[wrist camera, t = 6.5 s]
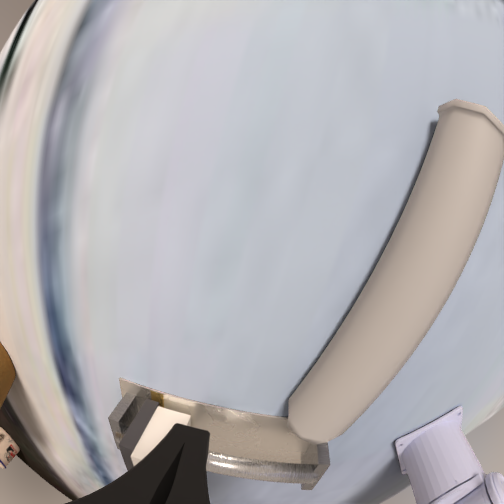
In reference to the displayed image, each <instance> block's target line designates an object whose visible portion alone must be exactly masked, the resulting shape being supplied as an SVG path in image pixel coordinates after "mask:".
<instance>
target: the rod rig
mask: <svg viewBox="0 0 504 504" xmlns="http://www.w3.org/2000/svg"><path fill="white" fill-rule="evenodd" d="M119 381H120V387H121V393H122V399H121V401H120V402H119V403H118V405H117V406H116V408H115V409H114V410H113V412H112V413H111V415H110V416H109V417H108V419H109V422H110V426H111V429H112V432H113V436H114V439H115V442H116V445H117V448H118V449H120V448H119V445H118V444H119V443H120V441H121V439H122V438H123V436H124V435H125V433H126V431H127V430H128V428H129V426H130V425H131V423H132V421H133V420H134V418H135V417H136V415H137V413H138V412H139V410H140V408H141V407H142V405H143V404H144V402H145V400H146V399H150V400H153V401H156V402H159V406H160V407H163V408H166V409H170V410H173V411H176V412H180V413H184V414H187V415H191V427H194V428H198V429H203V430H207V431H208V432H210V439H209V451H208V458H207V463H206V471H209V472H213V473H218V474H223V475H229V476H234V477H240V478H247V479H254V480H262V481H271V482H283V483H300V484H301V490H312V489H313V488H314V486H315V485H316V484H317V482H318V481H319V480H320V478H321V477H322V476H323V474H324V473H325V471H326V470H327V469H328V467H329V466H330V458H329V449H328V442H325V443H321V444H317V445H313V444H311V443H308V442H306V441H304V440H302V439H300V438H299V437H297V436H296V435H295V434H294V433H293V432H292V431H291V430H289V429H288V428H287V423H288V417H279V416H271V415H264V414H257V413H251V412H245V411H240V410H234V409H229V408H224V407H219V406H215V405H210V404H206V403H202V402H198V401H194V400H190V399H186V398H182V397H178V396H175V395H171V394H168V393H165V392H161V391H158V390H155V389H152V388H149V387H145V386H142V385H140V384H137V383H134V382H131V381H128V380H125V379H123V378H119Z"/></svg>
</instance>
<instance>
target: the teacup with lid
mask: <svg viewBox="0 0 504 504" xmlns="http://www.w3.org/2000/svg"><path fill="white" fill-rule="evenodd" d="M19 451H20V449H19V447H18V445H17V444H16V442H15V441H14V440H13V439H12V438H11V437H10V435H9V434H8V433H7V432H6V431H5V430H4V429H3V428H1V427H0V467H1V468H3V469H5V468H6V466H7V465H8V463H9V462H10V461H11V460H12V459H13V458H14V457H15V455H16V454H17V453H18V452H19Z"/></svg>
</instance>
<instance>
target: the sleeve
mask: <svg viewBox="0 0 504 504" xmlns="http://www.w3.org/2000/svg"><path fill="white" fill-rule="evenodd" d="M176 423H179V424H183V425H187V426H190V427H191V415H187V414H184V413H180V412H176V411H173V410H170V409H166V408H163V407H160V406H158V407H157V409H156V411H155V412H154V414H153V416H152V418H151V420H150V421H149V423H148V425H147V427H146V429H145V431H144V432H143V434H142V436H141V438H140V440H139V442H138V443H137V445H136V447H135V449H134V451H133V453H132V454H131V459H132V462H133V465H134V466H135V465H136V464H137V463H139V462H140V461H141V460H142V459H143V458H144V457H145V456H147V455H148V454H149V453H150V452H151V451H152V450H153V449H154V448H155V447H156V446H157V445H158V444H159V442H160V441H161V440H162V439H163V438H164V437H165V436H166V435H167V433H168V432H169V431H170V430H171V428H172V427H173V426H174V424H176Z"/></svg>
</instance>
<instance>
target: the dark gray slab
mask: <svg viewBox="0 0 504 504" xmlns="http://www.w3.org/2000/svg"><path fill="white" fill-rule="evenodd" d="M158 406H159V402H156V401H153V400H150V399H146V400H145V402H144V404H143V405H142V407H141V408H140V410H139V412H138V413H137V415H136V417H135V418H134V420H133V421H132V423H131V425H130V426H129V428H128V430H127V431H126V433H125V435H124V436H123V438H122V439H121V441H120V443H119V444H118V445H119V448H120V451H121V454H122V456H123V459H124V462H125V465H126V467H127V470H128V471H129V470H130V469H131V468H133V467H134V465H133V462H132V459H131V454H132V453H133V451H134V449H135V447H136V445H137V443H138V442H139V440H140V438H141V436H142V434H143V432H144V431H145V429H146V427H147V425H148V423H149V421H150V420H151V418H152V416H153V414H154V412H155V411H156V409H157V407H158Z"/></svg>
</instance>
